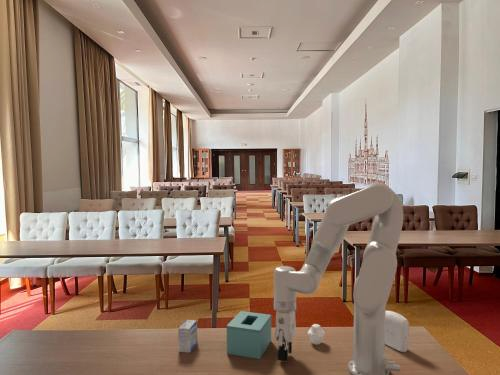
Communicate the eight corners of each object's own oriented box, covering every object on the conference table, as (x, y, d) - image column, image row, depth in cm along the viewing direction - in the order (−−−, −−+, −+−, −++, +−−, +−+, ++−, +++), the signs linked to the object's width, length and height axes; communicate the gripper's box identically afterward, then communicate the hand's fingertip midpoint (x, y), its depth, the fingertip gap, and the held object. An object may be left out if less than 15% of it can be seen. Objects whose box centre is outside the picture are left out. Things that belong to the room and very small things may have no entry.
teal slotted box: (271, 341, 148) (271, 314, 147) (259, 359, 135) (259, 330, 134) (240, 336, 152) (240, 310, 151) (226, 353, 138) (226, 325, 138)
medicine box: (190, 353, 139) (189, 329, 138) (178, 352, 140) (177, 328, 139) (197, 343, 147) (197, 320, 146) (186, 342, 148) (185, 319, 147)
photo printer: (410, 350, 140) (411, 316, 139) (402, 353, 138) (403, 318, 137) (386, 339, 149) (387, 306, 148) (378, 342, 147) (379, 309, 146)
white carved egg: (308, 346, 143) (309, 327, 143) (306, 338, 149) (306, 320, 149) (326, 346, 143) (326, 327, 143) (323, 338, 149) (323, 320, 149)
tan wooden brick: (289, 355, 137) (289, 341, 136) (286, 362, 132) (286, 348, 132) (283, 354, 138) (283, 340, 137) (280, 361, 133) (280, 347, 132)
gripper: (290, 314, 124) (290, 371, 126) (301, 296, 140) (301, 346, 142) (267, 311, 127) (267, 367, 128) (280, 294, 143) (280, 343, 144)
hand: (284, 355), depth 135 cm, fingers closed on tan wooden brick, 4 cm apart
